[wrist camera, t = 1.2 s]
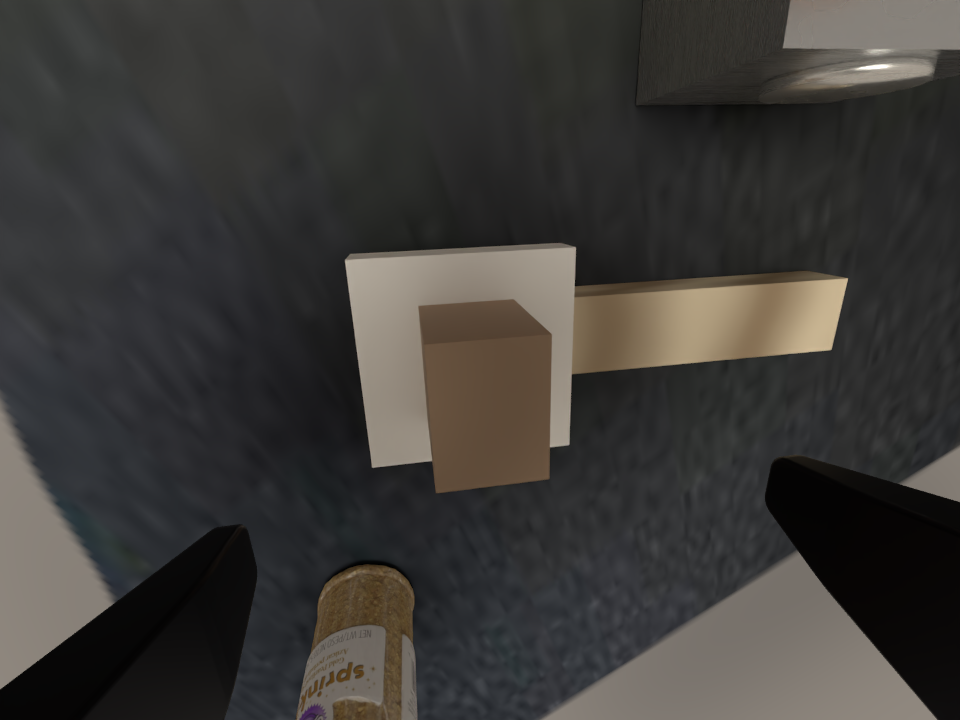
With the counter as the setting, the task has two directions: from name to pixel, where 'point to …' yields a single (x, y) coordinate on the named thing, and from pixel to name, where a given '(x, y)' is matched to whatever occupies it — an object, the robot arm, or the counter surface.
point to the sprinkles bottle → (362, 649)
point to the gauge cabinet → (792, 49)
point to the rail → (703, 319)
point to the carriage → (466, 359)
